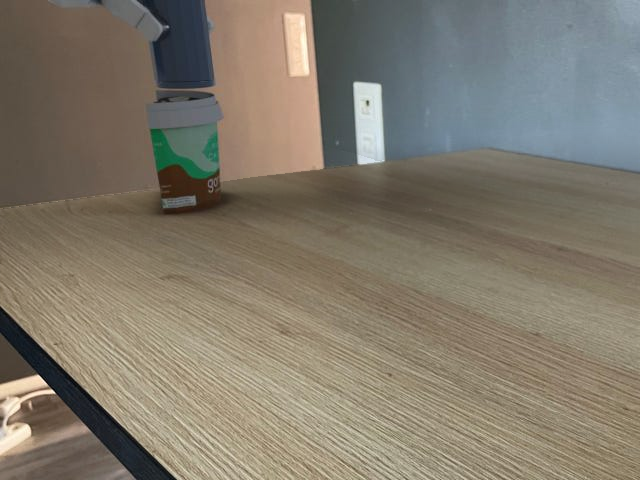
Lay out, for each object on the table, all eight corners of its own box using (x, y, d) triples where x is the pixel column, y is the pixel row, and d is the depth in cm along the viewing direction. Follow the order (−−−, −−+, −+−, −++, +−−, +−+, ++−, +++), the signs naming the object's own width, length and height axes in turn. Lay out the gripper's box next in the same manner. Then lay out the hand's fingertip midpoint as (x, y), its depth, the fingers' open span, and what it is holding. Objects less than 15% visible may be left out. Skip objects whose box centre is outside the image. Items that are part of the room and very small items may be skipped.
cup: (145, 88, 71) (129, -11, 68) (172, 82, 76) (159, -10, 72) (200, 89, 71) (187, -10, 67) (224, 83, 75) (213, -10, 72)
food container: (234, 216, 73) (220, 102, 69) (163, 220, 71) (144, 104, 67) (233, 188, 84) (221, 88, 80) (171, 191, 82) (155, 89, 78)
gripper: (133, -53, 80) (230, 53, 82) (-41, -68, 62) (88, 68, 64) (164, -105, 77) (264, 6, 79) (-9, -136, 59) (125, 8, 61)
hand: (184, 34), depth 71 cm, fingers closed on cup, 5 cm apart
